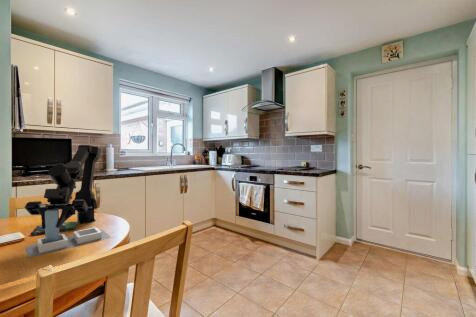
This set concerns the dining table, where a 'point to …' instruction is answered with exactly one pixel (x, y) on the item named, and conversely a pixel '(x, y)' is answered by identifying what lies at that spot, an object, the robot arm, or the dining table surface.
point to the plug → (51, 225)
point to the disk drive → (64, 227)
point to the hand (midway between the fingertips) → (50, 227)
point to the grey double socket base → (66, 241)
